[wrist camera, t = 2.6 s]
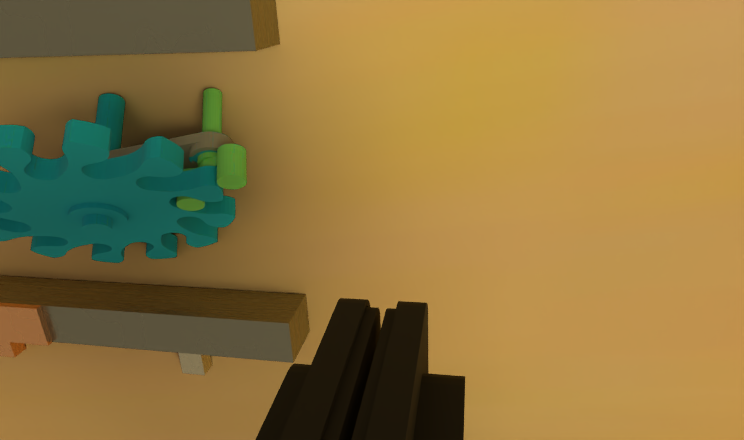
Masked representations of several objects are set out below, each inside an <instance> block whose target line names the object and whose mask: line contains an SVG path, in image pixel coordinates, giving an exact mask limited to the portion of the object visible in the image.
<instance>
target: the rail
mask: <svg viewBox="0 0 744 440" xmlns="http://www.w3.org/2000/svg"><path fill="white" fill-rule="evenodd" d="M278 44H280V41H279V31H278V22H277V12H276V2H275V0H0V58H11V57H47V56H84V55H121V54H157V53H194V52H230V51H257V50H261V49H264V48H268V47H271V46H275V45H278ZM308 333H309V321H308V311H307V302H306V294H290V293H274V292H258V291H242V290H225V289H209V288H193V287H177V286H161V285H144V284H128V283H112V282H96V281H79V280H63V279H47V278H31V277H14V276H0V356H7V357H16V356H17V355H18V354H20V353H21V352H22V351H23V350H25V349H26V346H25V344H37V345H49V344H51V343H52V342H61V343H72V344H84V345H95V346H107V347H119V348H130V349H142V350H153V351H165V352H176V353H178V354H179V358H180V363H181V368H182V372H183V373H187V374H198V375H205V374H206V373H207V371H208V370H209V369H210V367H211V366H212V362H211V357H210V355H211V356H222V357H234V358H245V359H257V360H268V361H280V362H292V363H293V362H294V361H295V359H296V357H297V355H298V353H299V351H300V349H301V347H302V345H303V343H304V341H305V339H306V337H307V335H308Z"/></svg>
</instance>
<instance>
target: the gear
mask: <svg viewBox="0 0 744 440" xmlns="http://www.w3.org/2000/svg"><path fill="white" fill-rule="evenodd" d="M124 110H125V100H124V99H123V98H122V97H120V96H118V95H116V94H111V93H106V94H102V95H100V96H99V99H98V107H97V115H96V122H95V123H91V122H87V121H81V120H75V119H71V120H69V121H68V122H67V123H66V126H65V133H64V139H63V145H62V150H63V152H64V155H63V156H62V157H60V158H58V159H44V158H40V157H37V156H35V155H33V154H32V151H33V146H34V140H35V135H34V133H33V132H32V131H31V130H30V129H29V128H27V127H25V126H19V125H0V166H2V167H3V168H5V169H7V170H8V171H9V172H4V171H1V170H0V241H7V240H11V239H14V238H18V237H25V236H33V238H32V244H31V251H33V252H36V253H38V254H41V255H45V256H49V257H53V258H56V257H62V256H64V255H65V254H66V252H67V251H69V250H70V249H72V248H75V247H78V246H82V245H88V244H93V249H92V260H96V261H102V262H112V263H120V262H122V261H123V260H124V251H125V247H126V246H127V245H129V244H131V243H134V242H146V243H147V247H146V256H147V257H149V258H151V259H164V258H174V257H176V256H177V240H178V238H177V237H176V236H175V235H173V234H171V233H180V234H183V235H185V236H186V243H187V244H188V245H190V246H193V247H203V246H207V245H210V244H213V243H215V242H218V227H226V226H228V225H229V224H231V222H232V221H233V220H234V218H235V199H234V198H232V197H229V196H223V188H225V189H240V188H242V187H244V186H245V185H246V183H247V175H246V149H245V148H244V147H242V146H240V145H237V144H233V141H232V140H231V138H229V137H228V136H226V135H225V134H222V92H221V91H219V90H218V89H215V88H208V89H206V90H204V92H203V117H202V132H200V133H195V134H190V135H185V136H180V137H175V138H170V139H166V138H164V137H163V136H155V137H151V138H149V139H147V140H146V141H145V142H144V144H141V145H136V146H131V147H126V148H121V140H122V130H123V120H124Z"/></svg>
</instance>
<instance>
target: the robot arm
mask: <svg viewBox="0 0 744 440" xmlns="http://www.w3.org/2000/svg"><path fill="white" fill-rule="evenodd" d="M464 398H465V376H451V375H438V374H428V306H427V303H420V302H401V301H399V302H398V304H397V307H396V309H389V308H387V309H386V312H385V316H384V320H383V324H382V327H381V325H380V311H379V308H371V307H370V303H369V301H368V300H363V299H344V298H341V299H339V300H338V302H337V305H336V307H335V309H334V312H333V314H332V317H331V319H330V321H329V324H328V326H327V329H326V331H325V333H324V336H323V338H322V340H321V343H320V345H319V348H318V350H317V352H316V355H315V357H314V359H313V362H312V364H311V365H305V364H293V365H292V366H291V367H290V369H289V370H288V372H287V374H286V376H285V378H284V380H283V383H282V385H281V387H280V389H279V391H278V393H277V395H276V397H275V400H274V402H273V404H272V406H271V408H270V410H269V412H268V414H267V417H266V419H265V421H264V423H263V425H262V427H261V429H260V431H259V433H258V436H257V438H256V440H463V436H464Z"/></svg>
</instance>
